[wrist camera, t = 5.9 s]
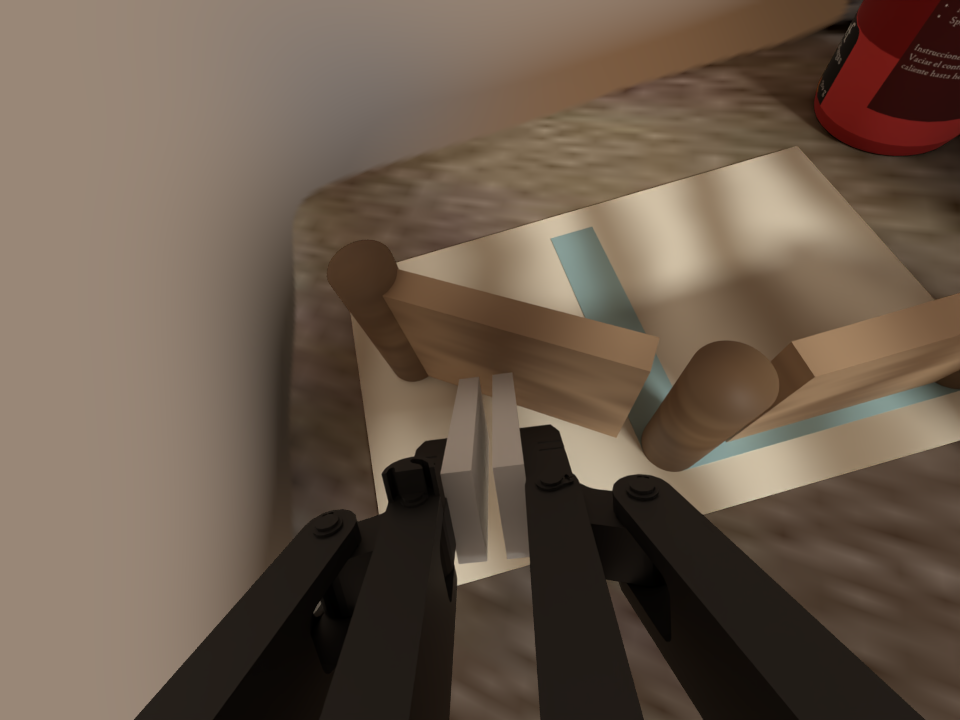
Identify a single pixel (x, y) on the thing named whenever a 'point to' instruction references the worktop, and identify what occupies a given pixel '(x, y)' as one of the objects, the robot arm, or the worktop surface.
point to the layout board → (684, 328)
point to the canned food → (895, 78)
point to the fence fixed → (801, 380)
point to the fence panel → (493, 340)
